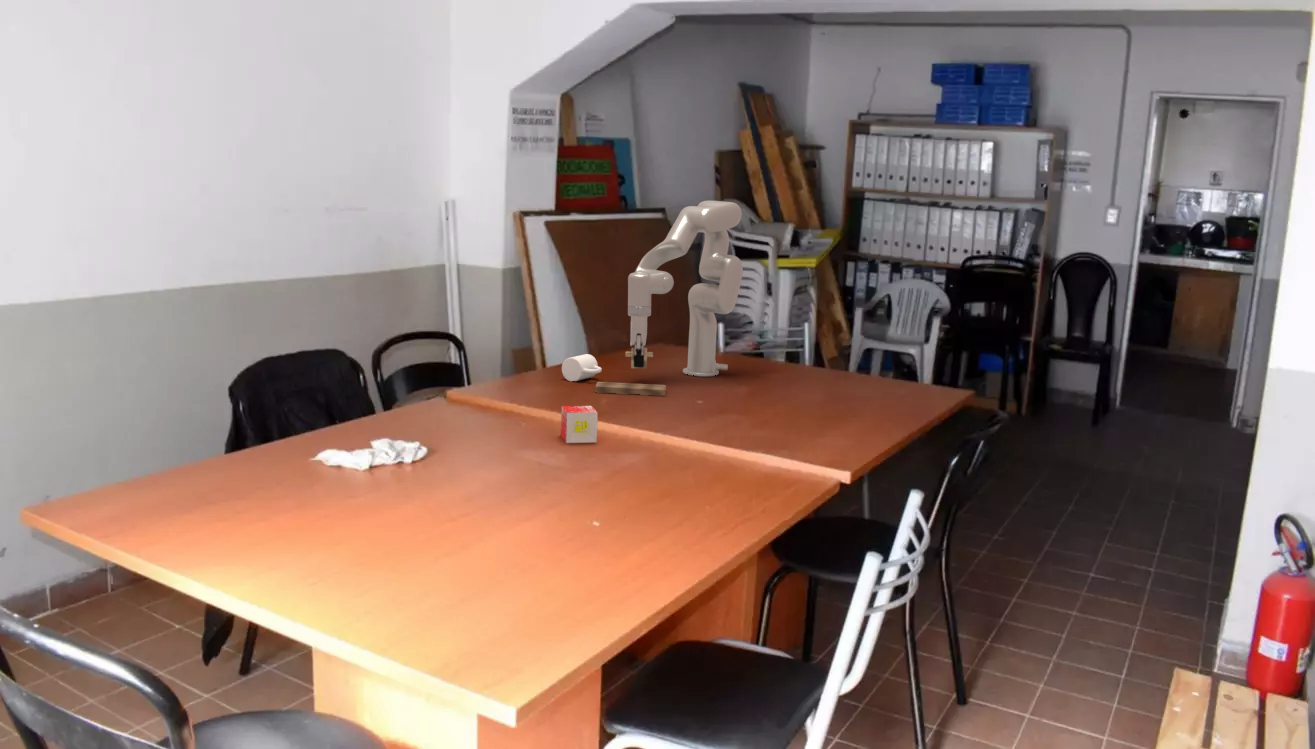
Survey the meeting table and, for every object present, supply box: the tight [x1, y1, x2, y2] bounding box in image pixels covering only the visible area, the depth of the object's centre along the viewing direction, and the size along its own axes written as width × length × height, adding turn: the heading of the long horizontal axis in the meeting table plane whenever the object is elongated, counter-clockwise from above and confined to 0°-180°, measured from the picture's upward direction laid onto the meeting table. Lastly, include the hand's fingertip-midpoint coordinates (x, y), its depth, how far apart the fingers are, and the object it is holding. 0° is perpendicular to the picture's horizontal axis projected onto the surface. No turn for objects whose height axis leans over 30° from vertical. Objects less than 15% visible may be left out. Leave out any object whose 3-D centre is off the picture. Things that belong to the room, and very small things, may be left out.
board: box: [594, 381, 667, 397], centre depth 343 cm, size 22×8×2 cm, turn 89°
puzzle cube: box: [560, 405, 598, 444], centre depth 280 cm, size 8×8×8 cm
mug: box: [561, 353, 603, 382], centre depth 358 cm, size 12×10×8 cm
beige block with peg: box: [625, 347, 654, 369], centre depth 356 cm, size 9×4×7 cm, turn 89°
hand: (639, 364), depth 356 cm, fingers closed on beige block with peg, 4 cm apart
